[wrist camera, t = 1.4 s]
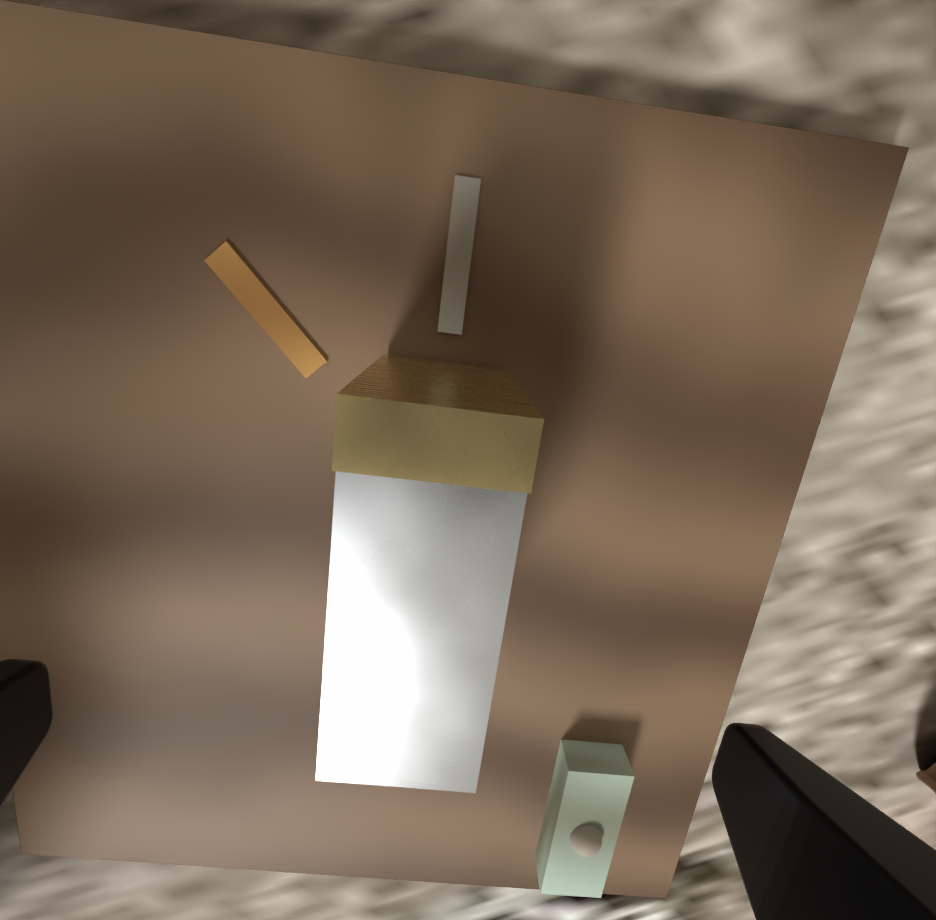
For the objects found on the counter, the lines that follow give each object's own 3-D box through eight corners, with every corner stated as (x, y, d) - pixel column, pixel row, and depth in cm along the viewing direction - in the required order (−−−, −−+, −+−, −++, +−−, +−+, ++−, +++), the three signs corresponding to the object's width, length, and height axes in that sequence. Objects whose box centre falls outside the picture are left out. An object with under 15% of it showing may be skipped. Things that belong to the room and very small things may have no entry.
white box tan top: (469, 623, 16) (478, 795, 10) (361, 613, 15) (312, 782, 10) (507, 370, 14) (544, 419, 8) (383, 354, 13) (336, 393, 8)
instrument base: (655, 869, 20) (685, 953, 18) (43, 825, 19) (-22, 909, 16) (876, 157, 13) (976, 125, 11) (-56, 8, 12) (-193, -70, 10)
